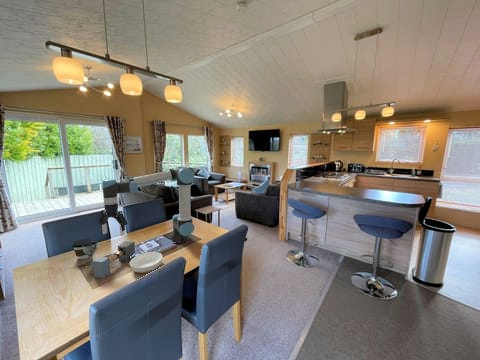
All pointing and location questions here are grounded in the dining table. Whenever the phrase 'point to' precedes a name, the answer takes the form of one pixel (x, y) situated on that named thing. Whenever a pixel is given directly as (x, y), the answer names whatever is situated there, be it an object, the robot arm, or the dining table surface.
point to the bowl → (146, 262)
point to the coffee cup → (80, 248)
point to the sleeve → (127, 250)
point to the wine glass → (90, 250)
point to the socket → (101, 267)
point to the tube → (116, 255)
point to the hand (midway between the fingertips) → (113, 234)
